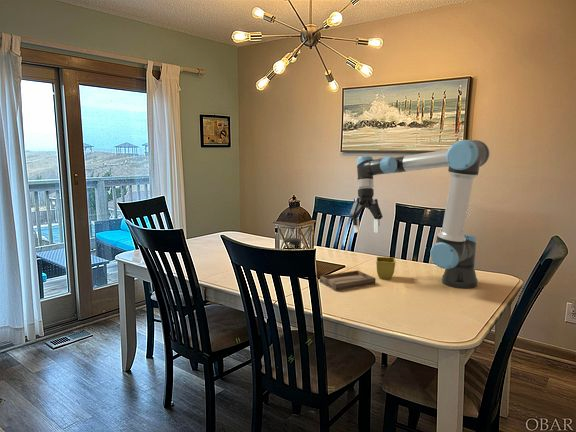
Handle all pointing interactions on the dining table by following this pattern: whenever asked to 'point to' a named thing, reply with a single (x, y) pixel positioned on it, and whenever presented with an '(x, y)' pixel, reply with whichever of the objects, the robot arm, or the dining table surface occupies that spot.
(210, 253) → the dining table surface
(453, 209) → the robot arm
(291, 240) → the french press
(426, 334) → the dining table surface
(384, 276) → the flower pot
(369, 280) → the walnut tray
